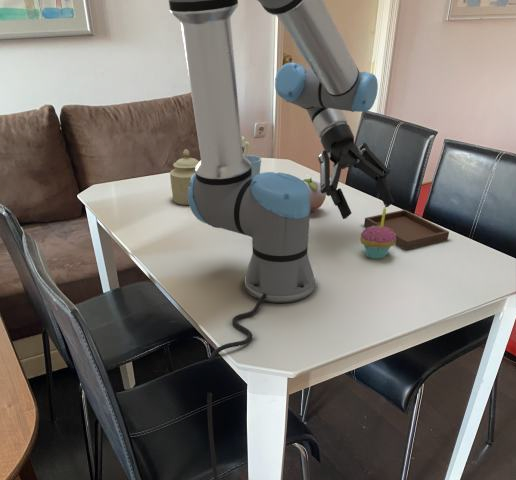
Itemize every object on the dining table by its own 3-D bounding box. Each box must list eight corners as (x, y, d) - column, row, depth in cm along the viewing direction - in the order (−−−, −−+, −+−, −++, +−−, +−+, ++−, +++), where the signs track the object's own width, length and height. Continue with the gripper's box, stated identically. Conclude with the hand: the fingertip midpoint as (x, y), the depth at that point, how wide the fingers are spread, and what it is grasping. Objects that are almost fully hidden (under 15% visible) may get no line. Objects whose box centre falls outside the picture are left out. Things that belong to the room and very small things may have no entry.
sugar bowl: (210, 188, 164) (207, 140, 155) (225, 199, 156) (223, 148, 147) (167, 196, 158) (161, 147, 149) (180, 207, 150) (175, 156, 141)
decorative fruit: (330, 214, 145) (333, 180, 139) (305, 219, 142) (307, 184, 136) (314, 204, 152) (315, 170, 146) (290, 208, 149) (291, 174, 143)
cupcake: (366, 244, 128) (371, 198, 121) (398, 251, 124) (406, 204, 117) (353, 257, 122) (358, 210, 115) (387, 265, 118) (394, 216, 111)
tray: (447, 240, 130) (449, 231, 128) (405, 250, 125) (406, 241, 124) (403, 217, 143) (404, 209, 141) (364, 225, 138) (364, 217, 137)
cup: (237, 188, 164) (236, 155, 158) (260, 187, 164) (260, 155, 158) (237, 196, 158) (236, 162, 152) (262, 195, 158) (261, 161, 152)
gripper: (364, 133, 131) (397, 207, 129) (285, 148, 120) (320, 228, 118) (381, 115, 124) (416, 192, 122) (299, 129, 113) (336, 214, 112)
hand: (369, 210), depth 120 cm, fingers open, 13 cm apart
